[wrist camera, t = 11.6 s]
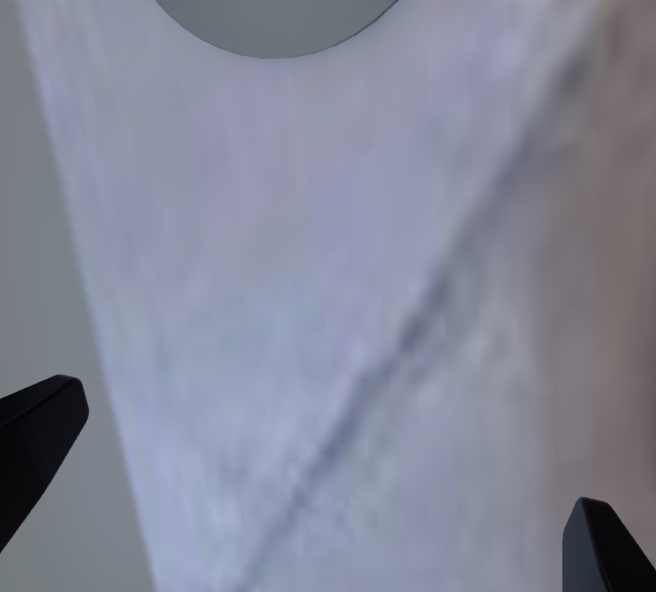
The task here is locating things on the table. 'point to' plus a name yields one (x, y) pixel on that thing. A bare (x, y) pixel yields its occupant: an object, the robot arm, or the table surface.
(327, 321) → the table surface
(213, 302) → the table surface
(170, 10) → the coaster
